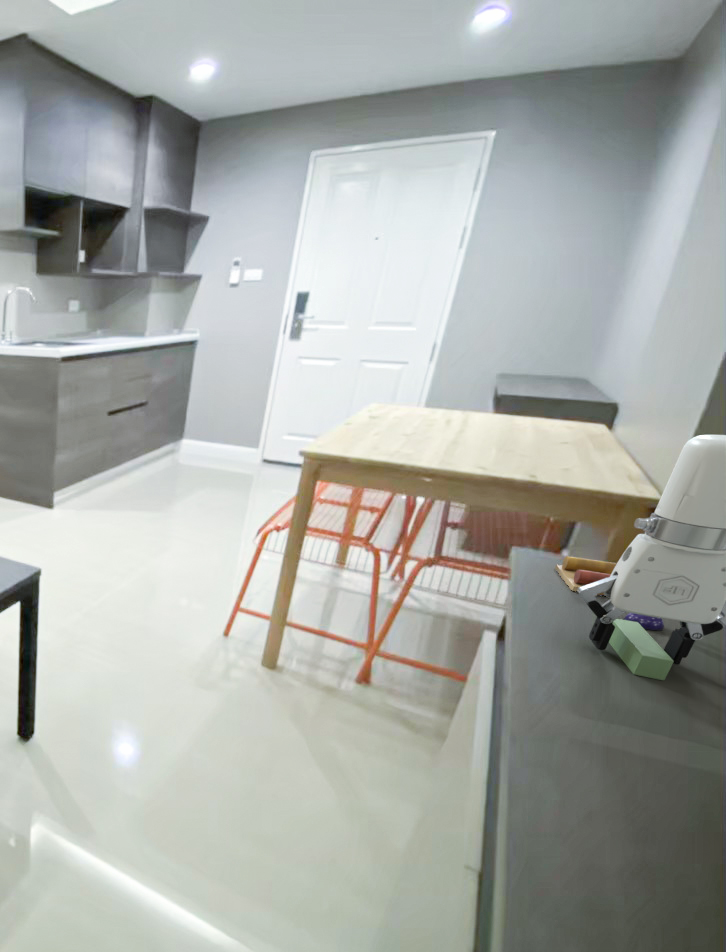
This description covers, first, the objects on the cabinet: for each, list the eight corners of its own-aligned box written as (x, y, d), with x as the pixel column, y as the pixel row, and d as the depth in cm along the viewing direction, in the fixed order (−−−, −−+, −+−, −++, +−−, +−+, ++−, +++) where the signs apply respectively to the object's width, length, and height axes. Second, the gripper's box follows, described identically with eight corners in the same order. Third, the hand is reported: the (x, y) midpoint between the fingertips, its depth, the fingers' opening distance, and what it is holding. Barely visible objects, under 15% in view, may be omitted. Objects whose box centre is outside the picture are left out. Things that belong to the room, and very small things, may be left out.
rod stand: (633, 581, 108) (641, 563, 107) (659, 605, 99) (668, 586, 98) (554, 569, 113) (560, 552, 112) (571, 591, 104) (579, 573, 103)
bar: (602, 635, 90) (610, 617, 89) (629, 640, 89) (638, 622, 88) (633, 674, 80) (642, 655, 79) (664, 680, 79) (674, 661, 78)
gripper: (609, 530, 79) (560, 648, 85) (807, 555, 71) (735, 683, 78) (590, 514, 85) (545, 626, 91) (771, 535, 77) (707, 656, 84)
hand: (633, 651), depth 84 cm, fingers open, 6 cm apart
